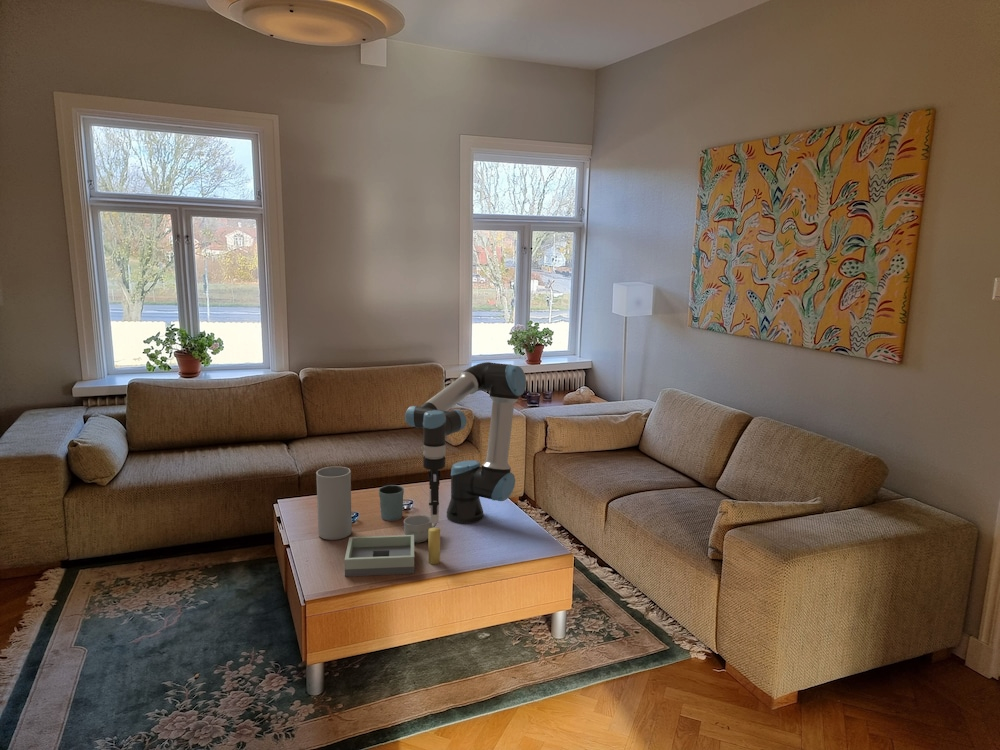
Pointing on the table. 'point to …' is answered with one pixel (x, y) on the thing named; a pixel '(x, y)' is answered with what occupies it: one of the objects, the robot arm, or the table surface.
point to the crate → (380, 555)
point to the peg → (434, 545)
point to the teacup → (418, 527)
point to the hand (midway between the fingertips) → (433, 515)
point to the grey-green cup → (391, 502)
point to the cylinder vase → (334, 502)
